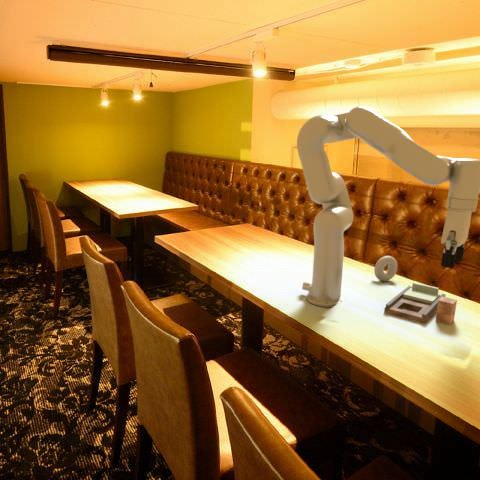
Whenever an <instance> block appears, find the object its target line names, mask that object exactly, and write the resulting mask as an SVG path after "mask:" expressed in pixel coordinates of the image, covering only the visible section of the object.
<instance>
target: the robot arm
mask: <svg viewBox="0 0 480 480" xmlns="http://www.w3.org/2000/svg"><path fill="white" fill-rule="evenodd" d="M352 139H359V140H360V141H362V143H364V144H366V145H368V146H369V147H370V148H373V149H374V150H375V151H377V152H379V153H380V154H382V155H383V156H384V157H386V158H387V159H388V160H390V161H391V162H392V163H393V164H395V165H396V166H398V167H399V168H400V169H402V170H403V171H404V172H406V173H407V174H409V175H410V176H412V177H413V178H415V179H417V180H418V181H419V182H421V183H423V184H426V185H429V186H439V185H441V184H443V183H449V186H448V191H447V192H448V193H447V199H446V205H445V209H447V213H446V217H445V221H444V226H443V231H442V234H441V239H440V240H441V241H440V243H441V244H442V245H444V248H443V251H442V258H441V264H440V266H441V267H442V268H447V269H454V268H455V263H456V261H463V257H464V251H465V245H466V242H467V240H468V235H469V232H470V231H469V230H470V226H471V220H472V213H475V212H476V211H477V209H478V201H479V197H480V159H478V158H465V157H464V158H452V157H449V156H443V155H436V154H434V153H432V152H431V151H429V150H427V149H426V148H424V147H422V146H421V145H420V144H418V143H417V142H416V141H414V140H413V139H412V138H411V136H409V134H408V133H407V132H406V131H405V130H404V129H402V128H401V127H399V126H398V125H397V124H394V123H392V122H391V121H389V120H388V119H386V118H384V117H383V116H381V115H380V114H379V113H378V111H377V110H375V109H374V108H372V107H368V106H363V105H362V106H355V107H354V108H352V109H350V110H349V111H348V112H345V113H344V112H343V113H340V114H336V115H335V114H334V115H325V114H320V115H319V114H318V115H314V116H312V117H311V118H308V119H307V121H306V122H305V123H303V125H302V126H301V128H300V129H299V132H298V135H297V137H296V149H297V154H298V157H299V160H300V161H299V162H300V164H301V168H302V171H303V177H304V179H305V184H306V188H307V192H308V195H309V198H310V199H311V200H312V202H314V203H316V204H318V205H322V208H323V209H321V210H320V211H319V212H318V213H317V214H316V215H315V218H314V220H313V241H314V244H313V245H314V247H313V263H312V265H313V266H312V280H311V283H309V282H306V281H305V282H303V283H302V287H301V288H302V290H304V291H307V292H308V293H307V294H306V300H307V302H308V303H310V304H312V305H315V306H318V307H321V308H322V307H324V308H334V307H335V306H337V305H338V304H339V303H342V302H343V301H345V299H346V298H345V296H344V295H342V293H341V292H342V282H343V281H342V280H343V270H344V269H343V268H344V257H345V256H344V252H345V238H344V237H345V236H344V235H345V234H344V232H345V231H347V230H348V229H349V228H350V227H351V226H352V224H353V221H354V211H353V207H352V204H351V200H350V195H349V191H348V189H347V185H346V182H345V180H344V179H343V177H342V176H341V175H340V174H338V173H337V172H333V171H332V169H331V166H330V160H329V158H328V155H327V153H326V151H325V144H333V143H339V142H342V141H347V140H352Z"/></svg>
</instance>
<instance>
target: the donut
mask: <svg viewBox="0 0 480 480" xmlns="http://www.w3.org/2000/svg"><path fill="white" fill-rule="evenodd" d="M387 266H388V267H387ZM386 267H387V270H386V271H384V270H385V268H386ZM397 272H398V261H397V260H396V259H395V257H393V256H392V255H391V256H390V255H385V256H381V257H380V258H379V259H378V260H377V261H376V263H375V264H374V270H373V273H374V275H375V277H376V279H377V280H379V281H380V282H381V281H382V282H387V281H390V280H391V279H393V278H394V277H395V276H396V273H397Z"/></svg>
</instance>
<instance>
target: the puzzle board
mask: <svg viewBox="0 0 480 480" xmlns="http://www.w3.org/2000/svg"><path fill="white" fill-rule="evenodd" d="M410 288H412V286H411V285H408V286H407V287H405V288H404V289H403V290H402V291H401V292H400V293H398V294H397V295H396V296H394V297H393V298H392V299H390V300H389V301H388V302H387V303H386V304H385V307H384V312H383V313H385V314H388V315H392V316H395V317H400V318H402V319H408V320H409V321H414V322H417V323H422V324H426V323H427V322H428V320H429V319H431V317H432V316H433V315H434V314H435V313H437V307H438V300H439V299H440V298H441V297H446V294H445V293H441V294H440V296H439V297H438V298H437V299H436V300H435V301H434V302H433V303H432V304H429V303H425V302H421V301H417V300H413V299H409V298H405V297H403V294H404V293H405V292H406V291H408V290H409V289H410Z"/></svg>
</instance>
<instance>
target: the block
mask: <svg viewBox="0 0 480 480" xmlns="http://www.w3.org/2000/svg"><path fill="white" fill-rule="evenodd" d="M457 302H458V299H456V298H452V297H451V298H450V297H448V296H447V297H446V296H445V297H441V298H440V299H439V300H438V307H437V311H436V316H435V322H438V323H442V324H446V325H448V326H449V325H450V326H451V324H452V323H453V322H454V321H455V316H456V309H457V308H456V307H457V304H458V303H457Z"/></svg>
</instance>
